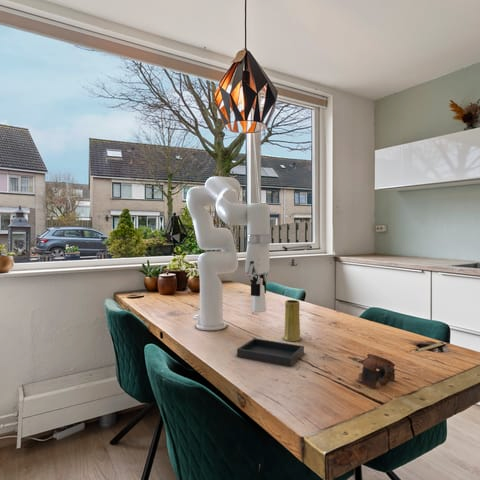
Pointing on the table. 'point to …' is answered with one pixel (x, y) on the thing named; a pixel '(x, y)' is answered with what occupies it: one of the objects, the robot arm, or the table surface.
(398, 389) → the table surface
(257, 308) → the salt shaker
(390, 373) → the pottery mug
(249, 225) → the robot arm
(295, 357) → the tray
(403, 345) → the table surface
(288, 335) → the vase
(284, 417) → the table surface
